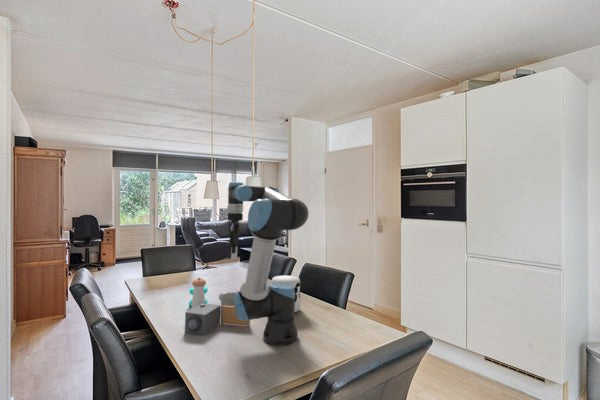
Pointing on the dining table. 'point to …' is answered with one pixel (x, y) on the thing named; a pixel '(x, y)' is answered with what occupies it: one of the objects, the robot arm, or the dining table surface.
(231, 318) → the side door
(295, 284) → the milk container
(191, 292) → the donuts
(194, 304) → the salt shaker
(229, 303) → the teacup
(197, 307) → the camera housing
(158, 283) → the dining table surface
